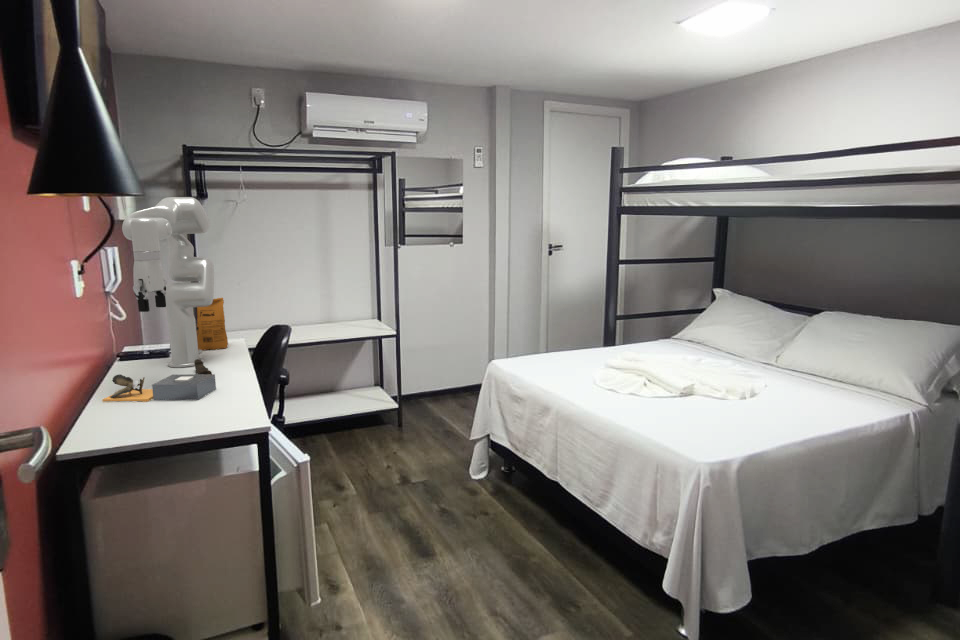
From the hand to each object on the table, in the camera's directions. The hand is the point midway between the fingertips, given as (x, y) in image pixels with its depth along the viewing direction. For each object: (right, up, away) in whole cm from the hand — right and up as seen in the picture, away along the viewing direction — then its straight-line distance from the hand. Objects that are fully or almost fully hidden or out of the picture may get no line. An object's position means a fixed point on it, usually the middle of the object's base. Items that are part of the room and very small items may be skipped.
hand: (152, 309), depth 192 cm
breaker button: (+13, -26, -5) cm, 29 cm away
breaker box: (+13, -27, -5) cm, 31 cm away
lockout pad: (-2, -28, -6) cm, 29 cm away
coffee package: (-10, -16, +65) cm, 67 cm away
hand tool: (+6, -24, +19) cm, 31 cm away
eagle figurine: (-4, -27, -7) cm, 29 cm away
